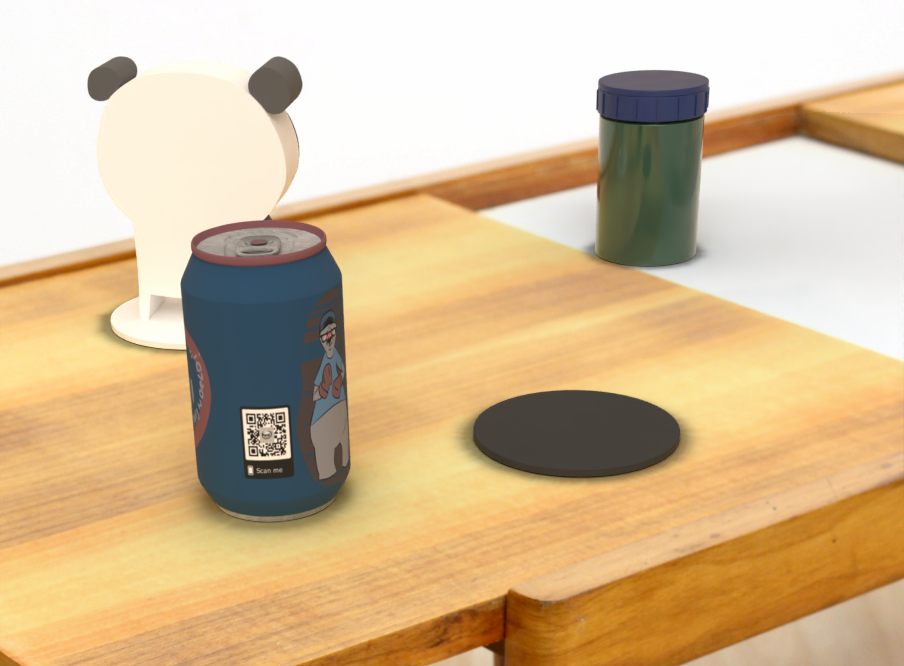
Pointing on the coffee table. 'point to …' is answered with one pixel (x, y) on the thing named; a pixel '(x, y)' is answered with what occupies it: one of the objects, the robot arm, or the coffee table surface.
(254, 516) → the soda can
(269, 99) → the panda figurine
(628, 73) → the jar lid
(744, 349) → the coffee table surface
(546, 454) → the coaster
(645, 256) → the jar
